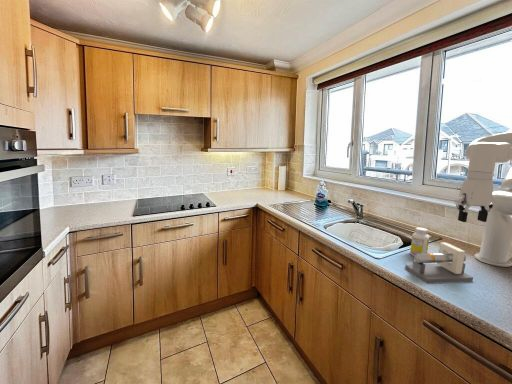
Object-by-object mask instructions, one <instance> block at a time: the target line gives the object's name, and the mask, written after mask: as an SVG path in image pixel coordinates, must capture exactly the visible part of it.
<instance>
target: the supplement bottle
mask: <svg viewBox="0 0 512 384" xmlns="http://www.w3.org/2000/svg"><path fill="white" fill-rule="evenodd" d="M411 237H412V238H411V244H410V255H412V256H413V257H414V256H415V254H424V253H428V249H429V241H430V236H429V235H428V228H426V227H421V226H420V227H415V232H414V233H412V236H411Z"/></svg>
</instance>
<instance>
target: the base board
mask: <svg viewBox="0 0 512 384" xmlns="http://www.w3.org/2000/svg"><path fill="white" fill-rule="evenodd" d="M424 264H425V271H424V274H418V273H417V272H416V271H414V270H413V269H412V267H413V264H405V266H404V267H405V268H404V269H405V270H407V271H408V272H410V273H411V274H412V275H414V276H416V277H417V278H419V280H421V281H423V283H426V284H433V283H434V284H437V283H439V284H440V283H458V282H460V283H462V282H463V283H464V282H473V281H474V277H473V276H471V275H469V274H468V273H466V272H464V273H461V274H455V273H453V272H451V271H450V270H448V269H446V268H444V267H443V266H441V265H439V264H437V263H424Z"/></svg>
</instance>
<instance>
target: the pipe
mask: <svg viewBox="0 0 512 384" xmlns="http://www.w3.org/2000/svg"><path fill="white" fill-rule="evenodd" d="M453 255H454V254H452V253H450V252H449V253H439V252H432V253H431V252H429V253H428V252H427V253H424V254H415V256H413V257H414V260H412V261H413V262H412V265H413V267H412V269H413V270H414V271H416V272H417V273H418V274H424V271H425V264H437V263H443V262H451V263H452V261H453ZM466 260H467V256H466V254H465V255H464V261H463V266H462V272H461V273H465V269H466Z"/></svg>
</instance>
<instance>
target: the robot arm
mask: <svg viewBox="0 0 512 384" xmlns="http://www.w3.org/2000/svg"><path fill="white" fill-rule="evenodd" d="M464 155H465V158H466V159H467V160H468V161H469V163H468V168H467V172H466V173H467V174H466V178H464V180H463V181H462V184H461V188H460V190H459V195H458V197H457V198H455V200H454V201H453V202H454V205H455V207H456V208H457V210H458V215H457V221H459V222H461V223H467V219H468V215H469V212H468V210H469V208H470V207H479V208H480V209H479V210H478V213H477V221H480V222H482V223H484V229H483V233H482V239H481V245H480V248H479V252H476V253H475V254H474V258H475V259H476V260H477V261H479V262H482V263H485V264H486V265H487V264H488V265H491V266H496V267H502V268H504V267H505V268H509V267H512V261H511V260H510V259H512V252H511V253H510V251H511V246H512V217H511V216H512V128H510V129H509V130H508V131H506V132H502V133H500V132H499V133H497V134H492V135H489V136H488V135H487V136H483V137H480V138H476V139H475V140H474V141H472V142H470V144H469V145H468V146H467V147H466V149H465V154H464ZM508 162H511V164H510V165H511V166H510V168H509V170H508V171H507V173H506V174H505V176H504V178H503V179H502V182H501V185H500V189H501V190H496V191H495V190H494V176H495V174H494V173H495V167H496V163H497V164H498V163H499V164H503V163H508Z"/></svg>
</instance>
